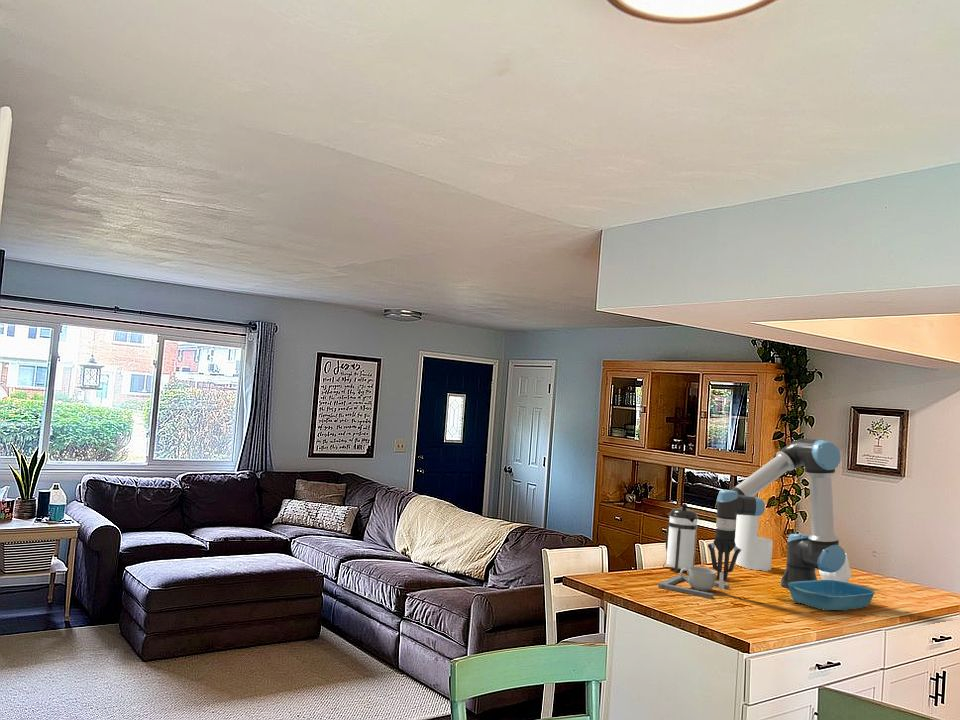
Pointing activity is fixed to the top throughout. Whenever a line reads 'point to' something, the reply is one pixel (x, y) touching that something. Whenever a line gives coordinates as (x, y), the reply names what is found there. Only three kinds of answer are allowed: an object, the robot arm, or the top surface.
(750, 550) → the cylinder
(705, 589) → the teacup
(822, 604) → the casserole dish
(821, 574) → the cup
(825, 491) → the robot arm
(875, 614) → the top surface
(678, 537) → the coffee press
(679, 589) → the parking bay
